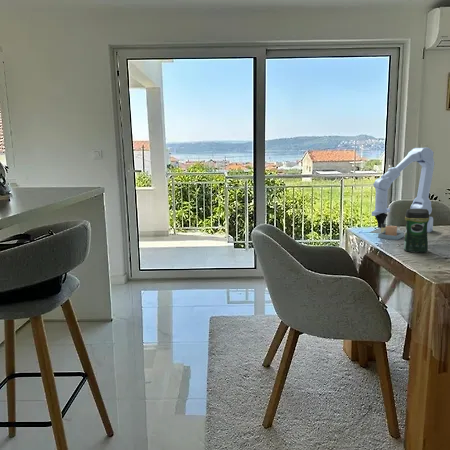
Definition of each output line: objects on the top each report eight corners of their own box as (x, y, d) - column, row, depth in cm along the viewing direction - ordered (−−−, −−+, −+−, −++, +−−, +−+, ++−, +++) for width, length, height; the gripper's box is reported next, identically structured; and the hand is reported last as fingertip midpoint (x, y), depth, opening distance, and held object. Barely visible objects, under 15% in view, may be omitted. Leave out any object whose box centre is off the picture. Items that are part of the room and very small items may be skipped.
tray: (403, 239, 196) (404, 233, 195) (397, 242, 189) (397, 236, 188) (385, 236, 202) (385, 230, 201) (377, 240, 195) (378, 234, 194)
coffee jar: (426, 249, 175) (429, 207, 172) (428, 253, 168) (431, 210, 165) (402, 247, 179) (405, 207, 175) (403, 252, 172) (405, 209, 168)
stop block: (396, 238, 195) (397, 226, 194) (393, 239, 192) (394, 227, 191) (388, 237, 198) (388, 225, 197) (385, 238, 195) (385, 226, 194)
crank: (386, 230, 210) (387, 221, 209) (391, 231, 208) (392, 222, 207) (379, 233, 204) (379, 224, 203) (384, 233, 202) (385, 224, 201)
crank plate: (406, 233, 209) (406, 230, 209) (396, 237, 199) (397, 235, 198) (379, 230, 218) (379, 227, 218) (369, 234, 208) (369, 232, 208)
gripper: (381, 204, 195) (380, 231, 198) (396, 200, 204) (394, 226, 207) (368, 202, 201) (367, 229, 203) (383, 199, 209) (382, 224, 212)
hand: (380, 227), depth 205 cm, fingers closed, pressing on crank
